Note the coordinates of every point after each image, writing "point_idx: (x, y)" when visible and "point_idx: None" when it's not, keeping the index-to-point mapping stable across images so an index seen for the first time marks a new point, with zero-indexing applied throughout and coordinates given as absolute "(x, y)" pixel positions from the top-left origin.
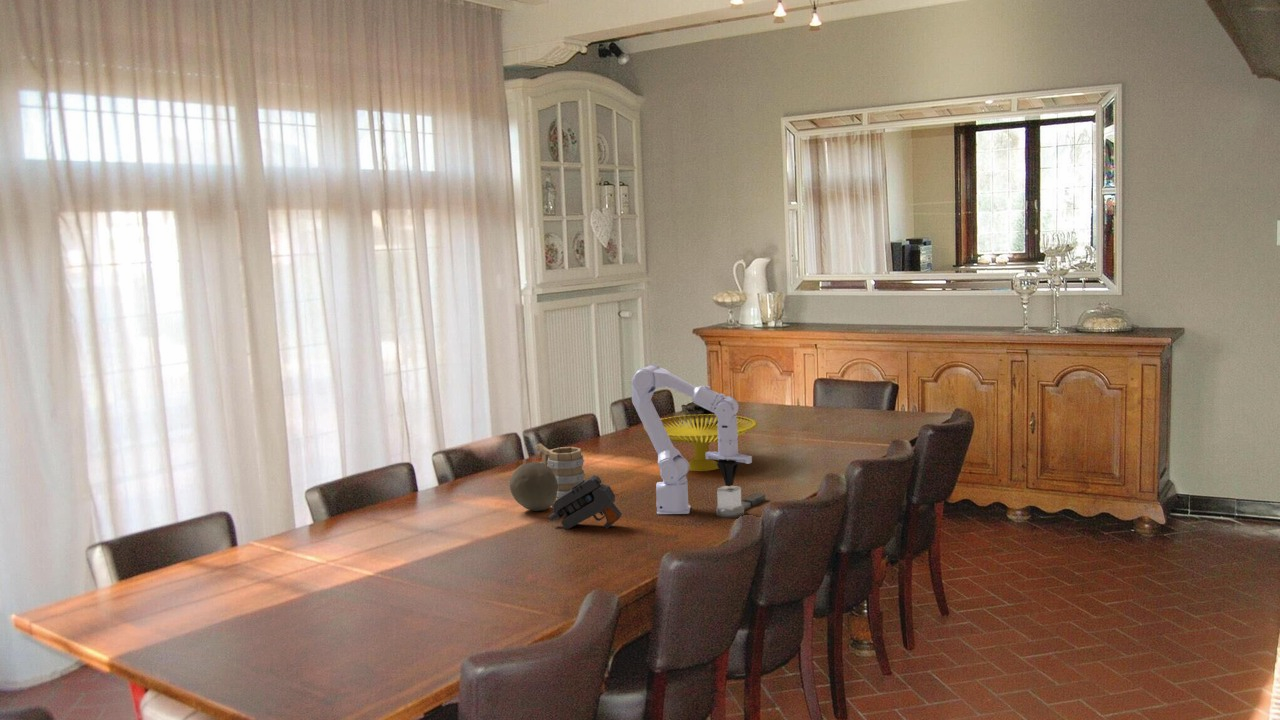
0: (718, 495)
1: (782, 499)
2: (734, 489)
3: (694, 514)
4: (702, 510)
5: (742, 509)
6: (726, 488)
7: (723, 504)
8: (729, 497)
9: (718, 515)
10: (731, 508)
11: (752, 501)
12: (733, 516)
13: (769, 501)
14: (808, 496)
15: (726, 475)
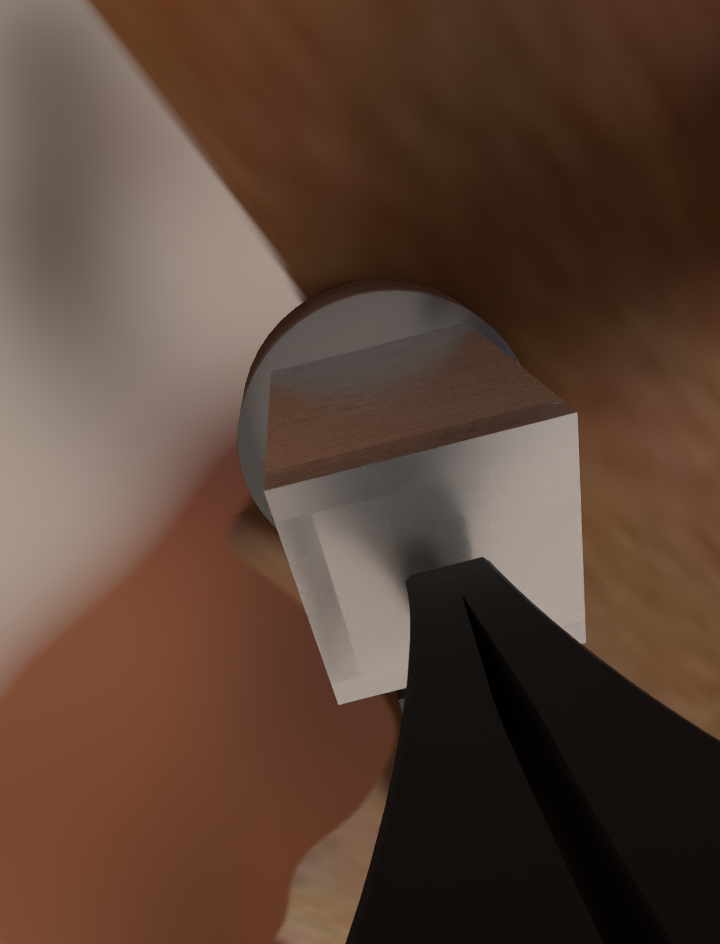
0: (506, 377)
1: (349, 846)
2: (291, 564)
3: (684, 154)
4: (682, 328)
5: (249, 487)
6: (440, 520)
7: (399, 360)
8: (313, 424)
9: (422, 285)
10: (282, 376)
11: (398, 697)
12: (258, 351)
13: (382, 786)
14: (278, 938)
15: (531, 726)
